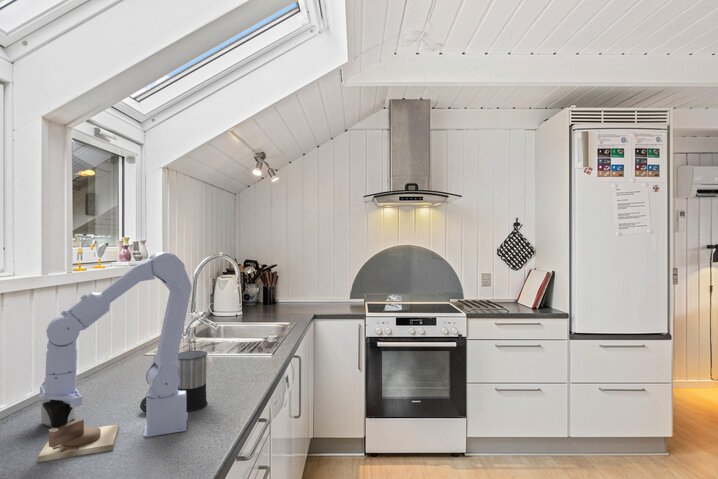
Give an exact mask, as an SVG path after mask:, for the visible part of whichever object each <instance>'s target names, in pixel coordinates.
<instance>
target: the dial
mask: <svg viewBox="0 0 718 479" xmlns="http://www.w3.org/2000/svg"><path fill="white" fill-rule="evenodd" d="M84 420H85V419H83V418H77V419H76V420H72V421H71V422H69V423H67V424H65V425H62V426H60V427H57V428H51V427H50V428H49V429H48V440H49V447H52V448H54V447H56V446H58V445H61V444H62V445H63V446H67V447H74V446H81V445H85V444H88V443H91V442H94V441H95V440H97V439H98V438H100V436H101V430H100V428H97V427H98V426H97V427H96V426H85V425H84V424H85V421H84Z"/></svg>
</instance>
